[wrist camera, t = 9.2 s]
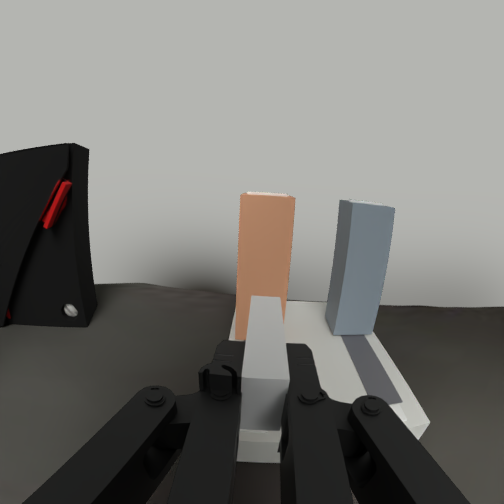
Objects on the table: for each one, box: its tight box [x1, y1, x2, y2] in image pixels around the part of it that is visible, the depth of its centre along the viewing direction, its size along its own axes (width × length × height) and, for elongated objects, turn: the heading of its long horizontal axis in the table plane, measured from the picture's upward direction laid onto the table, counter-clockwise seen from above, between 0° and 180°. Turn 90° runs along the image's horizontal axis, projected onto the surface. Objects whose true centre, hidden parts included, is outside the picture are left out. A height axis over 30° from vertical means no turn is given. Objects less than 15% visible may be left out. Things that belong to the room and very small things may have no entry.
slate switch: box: [325, 199, 395, 335], centre depth 24 cm, size 4×4×12 cm
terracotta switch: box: [235, 192, 295, 340], centre depth 23 cm, size 4×4×12 cm
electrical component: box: [0, 143, 97, 327], centre depth 24 cm, size 18×10×20 cm, turn 108°
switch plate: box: [229, 301, 430, 463], centre depth 22 cm, size 20×14×3 cm
